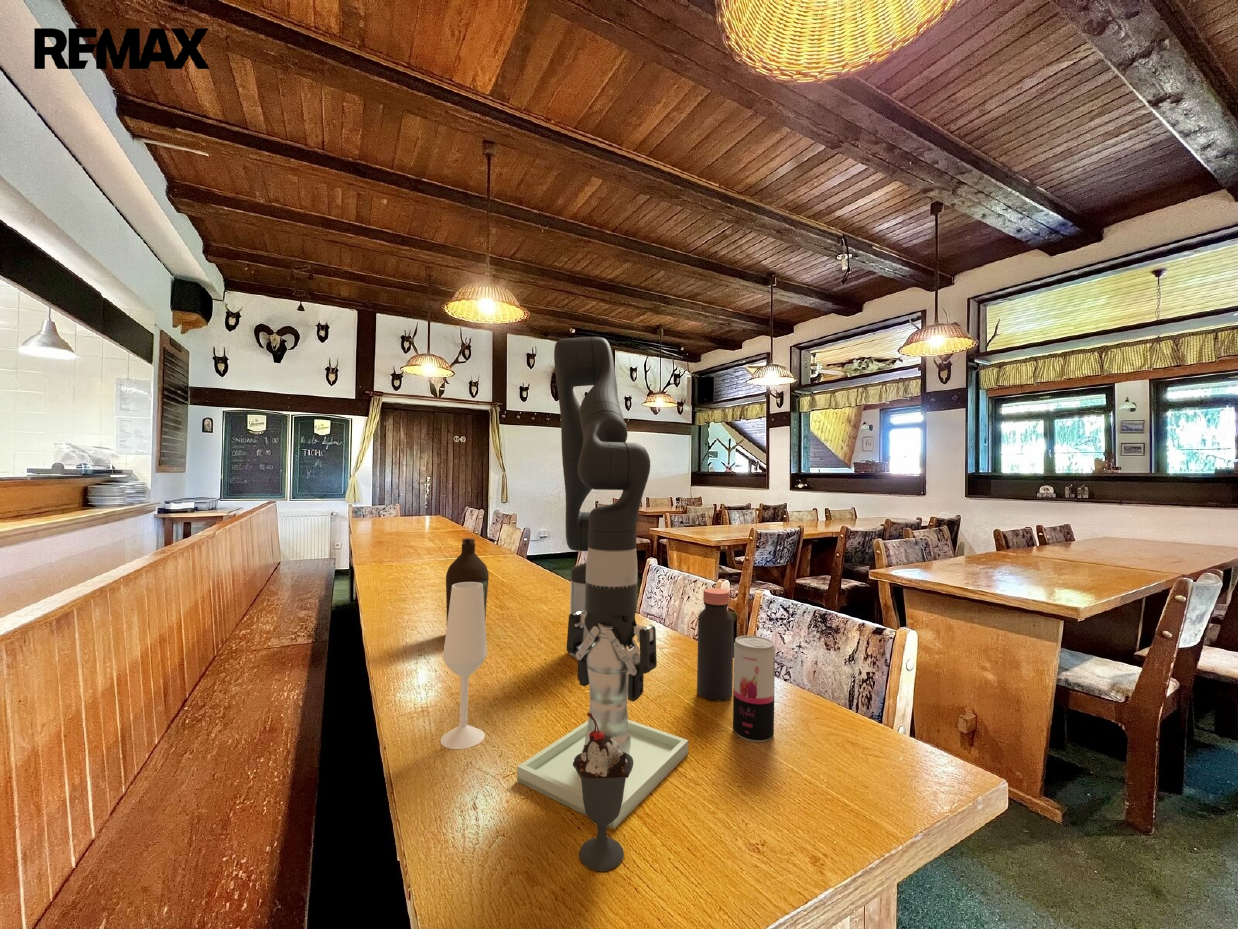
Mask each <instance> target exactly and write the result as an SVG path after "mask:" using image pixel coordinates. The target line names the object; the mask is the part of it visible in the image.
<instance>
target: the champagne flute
mask: <svg viewBox="0 0 1238 929" xmlns="http://www.w3.org/2000/svg"><path fill="white" fill-rule="evenodd" d="M444 639H445V640H444V646H443V654H442V658H443V661H444V663H445V665H446V666H447V668H448V669H450V671H452V672H453V673H454V674H456V675H457V676H459V677H460V694H459V695H460V697H459V699H460V700H459V725H458V726H455V727H454V728H453V729H451V730H449V731H448V732H446V733H444V735H442V736H441V738H440V744H441V746H443V747H444V748H446V749H450V750H465V749H468V748H470V749H471V748H472V747H475V746H477V745H479V744H480V743H481V742H483V740H484V739H485V736H486V735H485V732H484V731H483V730H482V729H481V728H480V729H479V728H477V727H474V726H472V725H471V724H468V707H469V705H468V703H469V702H468V701H469V677H470V676H471V675H472V674H474V673H475V672H476V671H477V670H478V669H479V668H480V667H481V666H482V665H483V663H484V662H485V660H486V658H487V656H488V645H487V642H488V641H487V627H486V619H485V610H484V595H483V584H482V583H478V582H462V583H456V584H453V585H452V590H451V598H450V606H449V613H448V621H447V620H446V630H445V638H444Z"/></svg>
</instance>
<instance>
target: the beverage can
mask: <svg viewBox="0 0 1238 929" xmlns="http://www.w3.org/2000/svg"><path fill="white" fill-rule="evenodd" d="M775 666H776V647H775V643H774V641H773V640H771V639H769V638H766V637H763V636H759V635H741V636H737V637H735V641H734V642H733V687H732V698H733V700H732V730H733V731H734V733H735V734H736V735H737V736H738V737H740V738H741V739H743V740H745V741H748V742H752V743H765V742H767V741H769V740H770V739H772V738H773V737H774V734H775V685H776V684H775V681H776V680H775V678H776V677H775V676H776V674H775V670H776V667H775Z"/></svg>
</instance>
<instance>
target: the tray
mask: <svg viewBox="0 0 1238 929" xmlns="http://www.w3.org/2000/svg"><path fill="white" fill-rule="evenodd" d="M587 728H588V720H587V721H585V722H583V723H582V724H581V725H579V726H578V727H576V728H574V729H572V730H571V731H570V732H569V733H567V734H564V735H563V736H562V737H560V738H558V739H557V740H555V741H554V742H553V743H551V744H550V745H547V747H545V748H543V749H541V750H540V751H539V752H537V753H535V754H534V755H533V756H531V757H529V758H528V759H527V760H524V761H523V762H522V763H520V764H519V765H517V769H516V771H517V772H516V773H517V774H516V775H517V776H516V781H517V782H518V783H519V784H522V785H524V786H526V787H527V788H530V789H532V790H534V791H536V792H537V793H539V794H542V795H544V796H546V797H547V798H550V799H552V800H554V801H556V802H558V803H560V804H562V805H564V806H566V807H568V808H570V809H571V810H574V811H576V812H578V813H580V814H582V815H584V816H585V817H587V815H586V813H585V808H584V802H583V793H582V783H581V778H580V776H579V775H578V773H577V771H576V769H575V768H574V767H573V762H574V758H575V757H576V756H577V755H579V754H581V753H582V750H583V748H584V745H585V738H586V732H587ZM628 728H629V732H630V738H631V749H630V756H631V757H632V758H633V768H632V770H631V773H630V774H629V777H628V778H626V780H625V787H624V794H623V801H622V805H621V809H620V813H619V816H618V817H617V818H616V819H615V820H614V821H613V822H612V823H610V824H608V825H607V828H610V829H612V830H615V829H616V828H617V827H618V826H619V825H620V824H621V823H622V822H623V821H624V820H625V819H626V818H627V817H628V816H629V815H630V814H631V813H632V812H633V811H634V810H635V809H636V808H637V807H638V806H639V805H640V804H641V803H642V802H643V800H644V799H645V798H647V796H649V794H651V792H653V791H654V789H656V787H657V786H658V785H659V784H660V783H661V782H662V781H663V780H664V779H665V778H666V777H668V775H670V773H671V772H672V771H673V770H674V769H675V768H676V767H677V766H678V764H680V763H681V762H682V761H683V760H684V759H685V758H686V757H687V756H688V755H689V739H686V738H684V737H680V736H678V735H674V734H673V733H672V734H671V733H669V732H665V731H662V730H660V729H657V728H654V727H651V726H648V725H645V724H642V723H639V722H637V721H634V720H630V719H628Z"/></svg>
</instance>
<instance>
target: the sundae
mask: <svg viewBox="0 0 1238 929" xmlns="http://www.w3.org/2000/svg"><path fill="white" fill-rule="evenodd" d="M586 716H587V717H588V718H589V717H590V718H591V717H592V718H591V719H592V720H593V721H594V724H595V729H594V731H592V732H591V733H590V734H589V738H590V741H589V742H587V743H586V745H584V748H583V750H582V753H581V754H579V755H577V756H576V757H575V758H574V762H573V767H574V768H575V769H576V771H577V773H578V775H579V776H580V778H581V783H582V793H583V802H584V808H585V813H586V815H587V816H586V815H585V816H586V817H587V818H588V819H589V820H590V822H592V823H593V824H594V825H596V836H595V837H592V838H589V839H588V840H586V841H585V842H584V843H583V844H581V846H580V849H579V852H578V856H579V857H578V858H579V860H580V861H581V863H582V865H584V866H585V867H586V868H587V869H589V870H592V871H595V872H608V871H612V870H614V869H616V868H617V867H618V866H620V864H621V863H622V862H623V859H624V856H625V853H624V852H625V851H624V848H623V847H622V844H620V842H618V840H615V839H613V838H611V837H608V826H607V825H608V824H610V823H612V822H613V821H614V820H615V819H616V818H617V817H618V816H619V813H620V809H621V805H622V801H623V794H624V787H625V780H626V778H628V777H629V774H630V773H631V770H632V768H633V758H632V757H631V756H630V755H629V754H627V753H625V752H623V751H621V750H619V746H618V745H617V743H616V741H615V740H614V739H613V738H611V737H610V736H607V735H604V734H603V732H601V731H599V729H598V725H597V722H596V720H595V719H594V718H593V716H592V713H589V712H587V714H586ZM596 726H597V731H598V732H597V731H596Z"/></svg>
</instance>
